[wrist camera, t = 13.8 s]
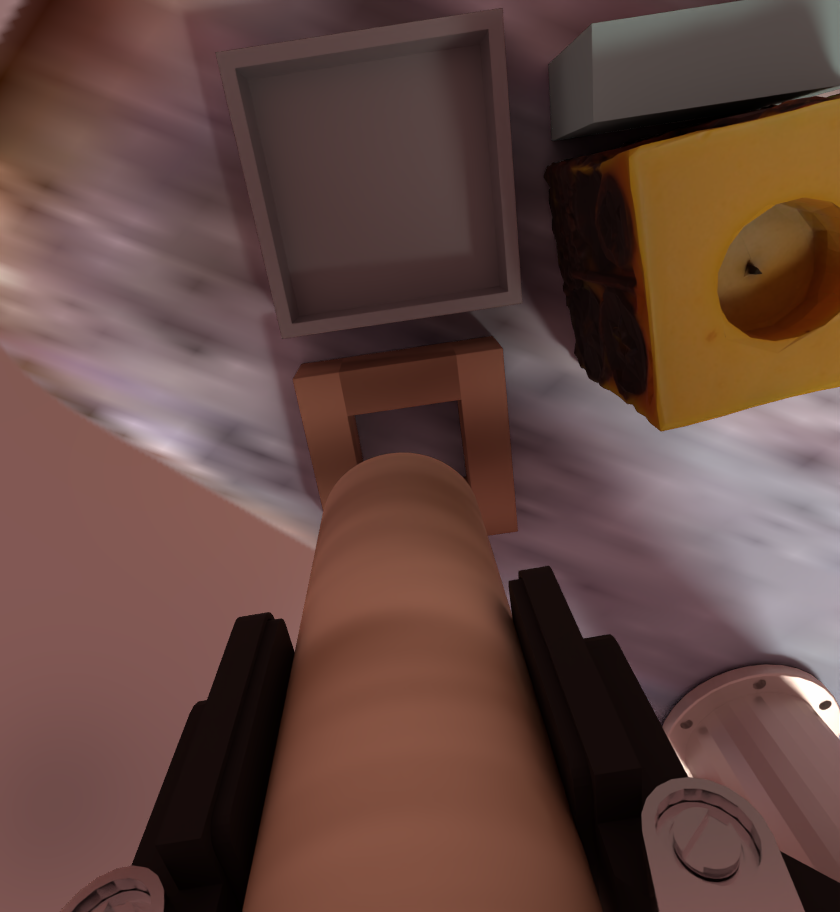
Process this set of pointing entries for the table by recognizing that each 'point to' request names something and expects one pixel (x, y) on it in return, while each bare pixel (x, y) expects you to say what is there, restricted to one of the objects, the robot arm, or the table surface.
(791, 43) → the block
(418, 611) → the dowel
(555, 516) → the table surface
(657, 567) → the table surface
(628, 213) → the candle
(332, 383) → the socket block
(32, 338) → the table surface
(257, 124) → the tray
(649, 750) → the robot arm
